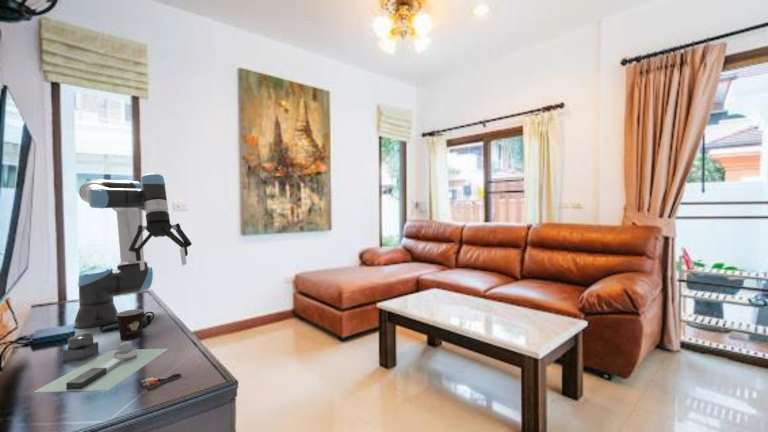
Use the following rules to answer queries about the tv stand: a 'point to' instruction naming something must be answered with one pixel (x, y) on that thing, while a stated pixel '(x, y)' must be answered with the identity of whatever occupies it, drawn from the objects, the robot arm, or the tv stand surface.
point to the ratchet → (104, 367)
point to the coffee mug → (131, 323)
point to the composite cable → (159, 381)
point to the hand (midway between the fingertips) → (164, 267)
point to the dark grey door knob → (80, 348)
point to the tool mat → (112, 376)
